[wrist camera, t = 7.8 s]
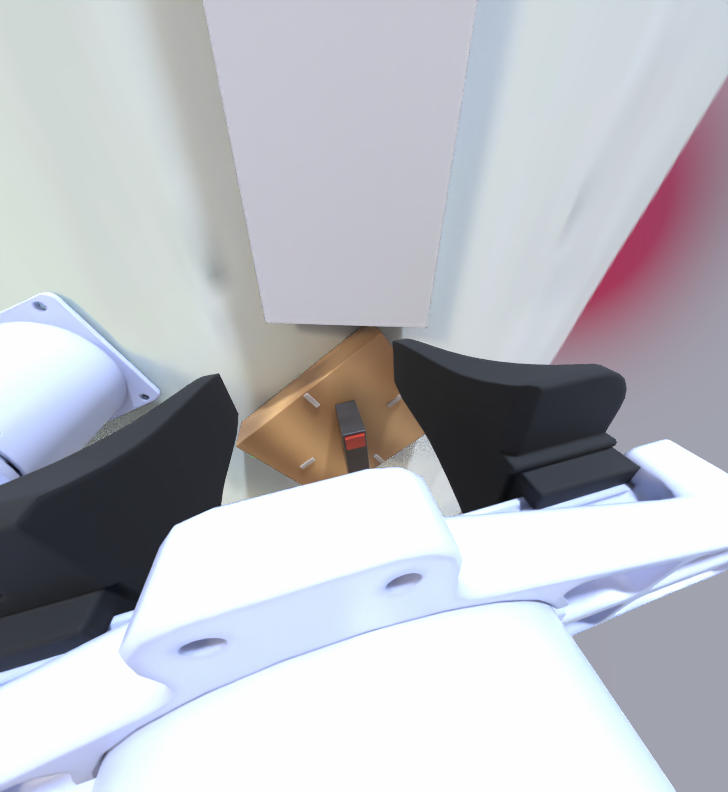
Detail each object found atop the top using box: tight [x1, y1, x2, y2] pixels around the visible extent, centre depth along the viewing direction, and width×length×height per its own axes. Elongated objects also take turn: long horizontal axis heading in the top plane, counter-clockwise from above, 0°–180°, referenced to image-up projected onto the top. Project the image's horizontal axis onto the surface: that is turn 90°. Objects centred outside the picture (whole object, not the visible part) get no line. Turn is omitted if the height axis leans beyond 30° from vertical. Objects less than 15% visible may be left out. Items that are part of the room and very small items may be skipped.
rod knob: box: [335, 401, 370, 474], centre depth 20 cm, size 6×2×4 cm, turn 5°
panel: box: [236, 326, 425, 485], centre depth 23 cm, size 14×11×3 cm
